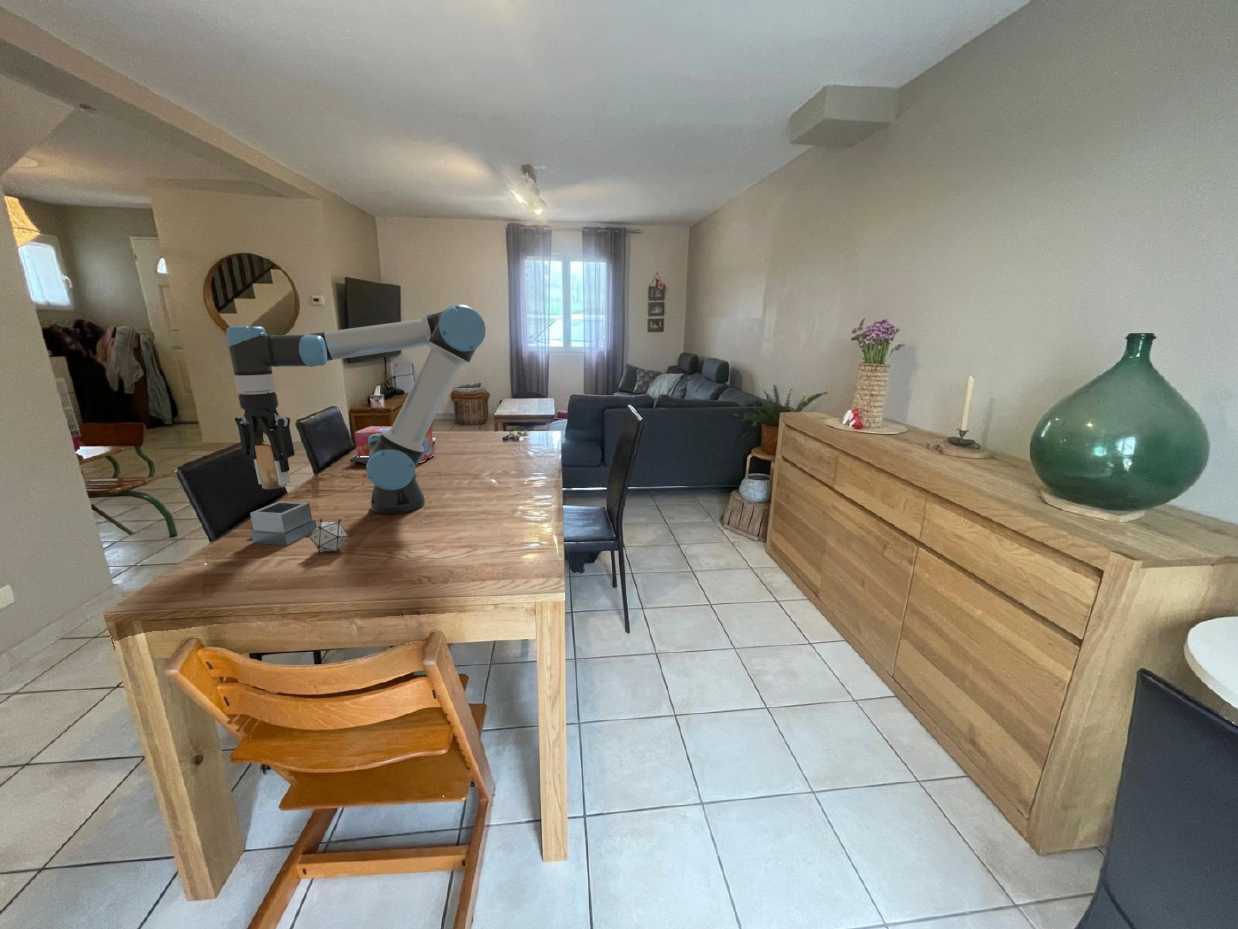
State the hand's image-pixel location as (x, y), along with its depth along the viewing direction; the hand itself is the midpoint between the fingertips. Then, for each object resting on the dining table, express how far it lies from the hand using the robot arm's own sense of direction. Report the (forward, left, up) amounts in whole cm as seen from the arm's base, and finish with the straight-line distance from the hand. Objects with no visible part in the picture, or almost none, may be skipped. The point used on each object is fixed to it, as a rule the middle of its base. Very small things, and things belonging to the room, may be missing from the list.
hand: (274, 483), depth 124 cm
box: (+18, -77, -15) cm, 80 cm away
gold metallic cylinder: (0, 0, -1) cm, 1 cm away
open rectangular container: (+2, 0, -15) cm, 15 cm away
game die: (-19, +6, -15) cm, 25 cm away
